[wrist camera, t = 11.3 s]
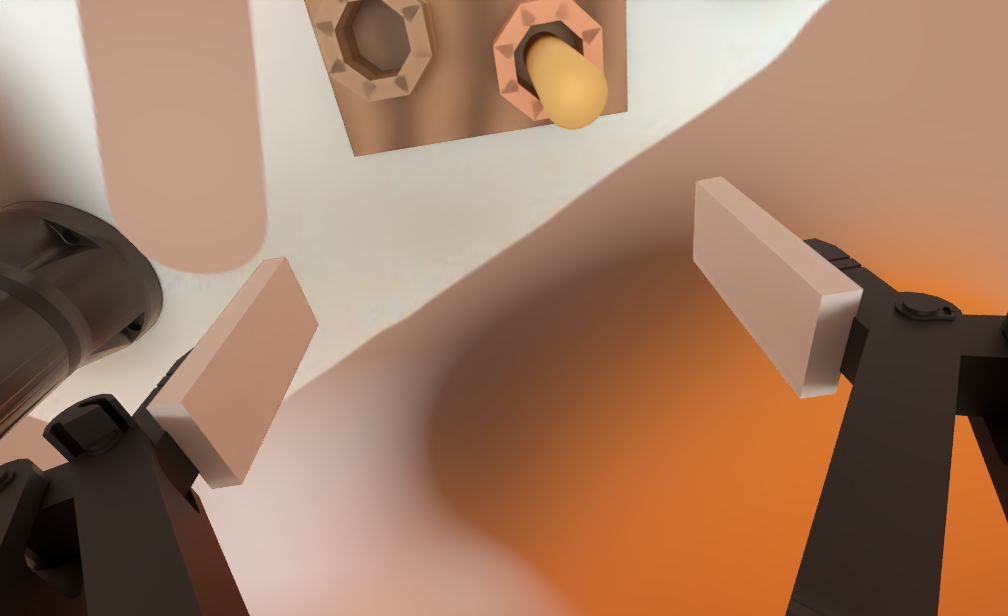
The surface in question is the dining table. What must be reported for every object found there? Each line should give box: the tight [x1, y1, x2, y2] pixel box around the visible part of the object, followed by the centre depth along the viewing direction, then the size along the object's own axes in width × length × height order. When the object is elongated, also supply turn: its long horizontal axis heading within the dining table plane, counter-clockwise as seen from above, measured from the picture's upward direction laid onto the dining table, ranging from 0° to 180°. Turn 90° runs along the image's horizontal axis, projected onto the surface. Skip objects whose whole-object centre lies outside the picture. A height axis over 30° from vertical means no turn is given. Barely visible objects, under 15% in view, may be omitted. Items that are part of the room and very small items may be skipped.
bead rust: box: [493, 0, 604, 121], centre depth 34 cm, size 7×7×4 cm
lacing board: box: [304, 0, 627, 156], centre depth 36 cm, size 22×12×1 cm, turn 99°
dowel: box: [523, 31, 608, 129], centre depth 29 cm, size 3×3×16 cm
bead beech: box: [312, 0, 439, 102], centre depth 33 cm, size 7×7×4 cm
